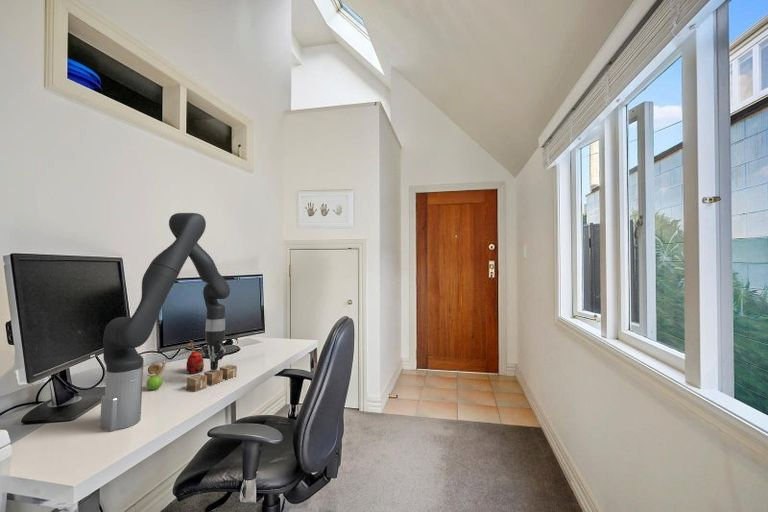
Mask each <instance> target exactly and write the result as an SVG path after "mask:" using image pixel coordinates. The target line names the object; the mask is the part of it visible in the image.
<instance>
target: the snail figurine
mask: <svg viewBox="0 0 768 512" xmlns="http://www.w3.org/2000/svg"><path fill="white" fill-rule="evenodd" d="M164 359H165V360H163V361H162V362H161V363H162V364H160V363H157V362H155V363H151V364H150V365H149V366H148V367H147V376H148V377H149V378H148V379H147V380H146V384H145V385H146V388H147V389H148V390H151V391H155V390H158V389H159V388H160V387H162V386H163V382H164V380H163V377H162V376H161V374H162V373H163V372H164V370H165V367H166V364H167V357H164Z"/></svg>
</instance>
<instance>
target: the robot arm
mask: <svg viewBox="0 0 768 512" xmlns="http://www.w3.org/2000/svg"><path fill="white" fill-rule="evenodd" d="M206 224H207V222H206V218H205V217H204V216H203V215H202V214H200V213H197V212H196V213H195V212H177V213H174V214H172V215H171V216H170V217H169V220H168V227H169V230H170V232H171V233H172V235H173V236H174V237H175V240H174V241H173V242H172V244H170V245H169V246H168V247H167V248H165V249H163V250H162V251H161V252H160V253H158V255H156V256H155V257H154V258H153V259H152V261H150V264H149V266H148V267H147V269H146V271H145V272H144V274H143V276H142V280H141V297H140V301H139V304H138V306H137V307H136V310H135V311H134V313H133V314H132V316H131V317H128V316H120V317H119V316H118V317H116V318H113V319H111V320H110V321H109V322H108V324H107V325H106V326H105V329H104V332H103V337H102V338H103V339H102V340H103V341H102V342H103V344H102V345H103V346H102V349H103V353H102V354H103V355H102V356H103V361H104V364H105V367H106V369H105V373H106V374H105V391H104V394H103V395H102V396H101V397H100V401H101V402H100V417H99V418H100V420H99V428H101V429H104V430H106V431H108V432H113V431H116V430H123V429H126V428H129V427H132V426H134V425H136V424H138V423H139V422H140V421H141V417H142V399H143V379H144V378H143V377H144V376H143V375H144V362H145V360H144V357H143V356H142V355H141V354H139V353H138V351H137V349H136V348H139V347H142V345H143V344H145V343H146V342H147V340H149V337H151V335H152V332H153V330H154V327H155V325H156V322H157V320H158V317H159V315H160V312H161V310H162V307H163V305H164V303H165V302H166V299H167V297H168V295H169V293H170V292H171V289H172V288H173V286H174V285H175V283H176V281H177V279H178V277H179V275H180V273H181V270H182V268H183V266H184V264H186V261H187V259H188V258H190V261H192V263H193V265H194V268H195V269H196V271H197V273H198V276H199V278H200V280H201V281H202V282H203V283H206V284H205V285H204V287H203V291H202V295H203V300H204V304H205V306H206V322H205V331H204V332H205V333H204V334H205V335H204V336H205V337H204V339H205V342H206V345H204V346H202V351H203V353H204V355H205V357H206V359H207V360H209V361H210V370H216V369H217V370H218V368H219V361H220V360H222V359H223V358H224V357H225V356H226V353H227V352H228V348H225V347H224V340H225V339H226V306H225V305H224V304H221V303H219V301H218V300H225V299H226V298H228V297H229V296H230V294H231V288H230V285H229V283H228V282H227V281H226V279H225V278H224V276H223V275H221V273H220V272H219V270H218V268H217V266H216V263H215V261H214V259H213V258H212V257H211V255H210V254H209V253H208V252H207V251H206V250H205V249H203V247H202V246H201V245H200V244H199V243H198V242H199V240H200V239H201V238H202V237H203V235H204V233H205V230H206V226H207V225H206Z"/></svg>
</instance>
